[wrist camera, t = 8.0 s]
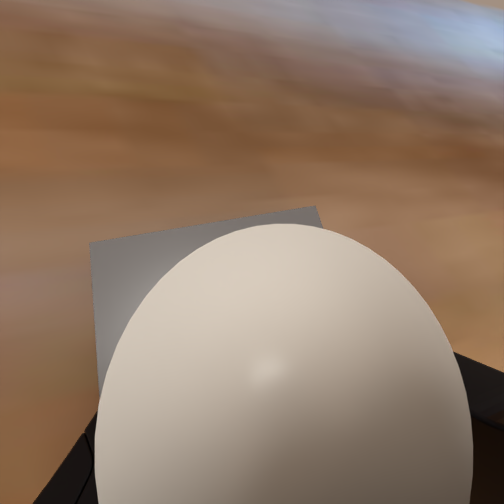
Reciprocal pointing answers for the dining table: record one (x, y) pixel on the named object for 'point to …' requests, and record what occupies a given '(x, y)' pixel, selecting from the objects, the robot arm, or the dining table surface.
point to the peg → (283, 382)
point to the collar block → (154, 269)
